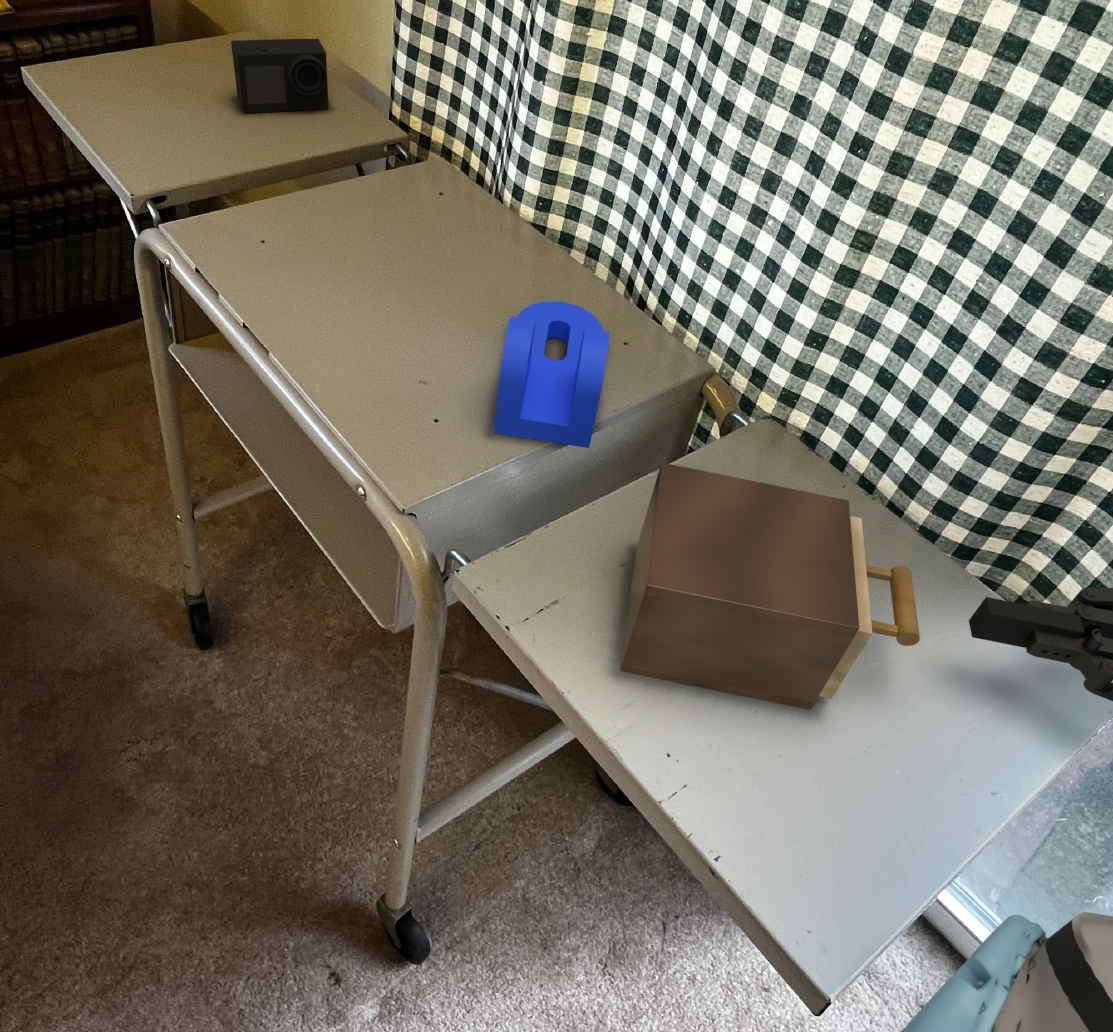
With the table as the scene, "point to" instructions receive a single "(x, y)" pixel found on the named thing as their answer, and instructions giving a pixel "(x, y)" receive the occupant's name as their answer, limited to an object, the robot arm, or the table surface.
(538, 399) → the bracket
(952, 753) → the table surface
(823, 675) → the cabinet
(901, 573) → the drawer
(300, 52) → the digital camera
